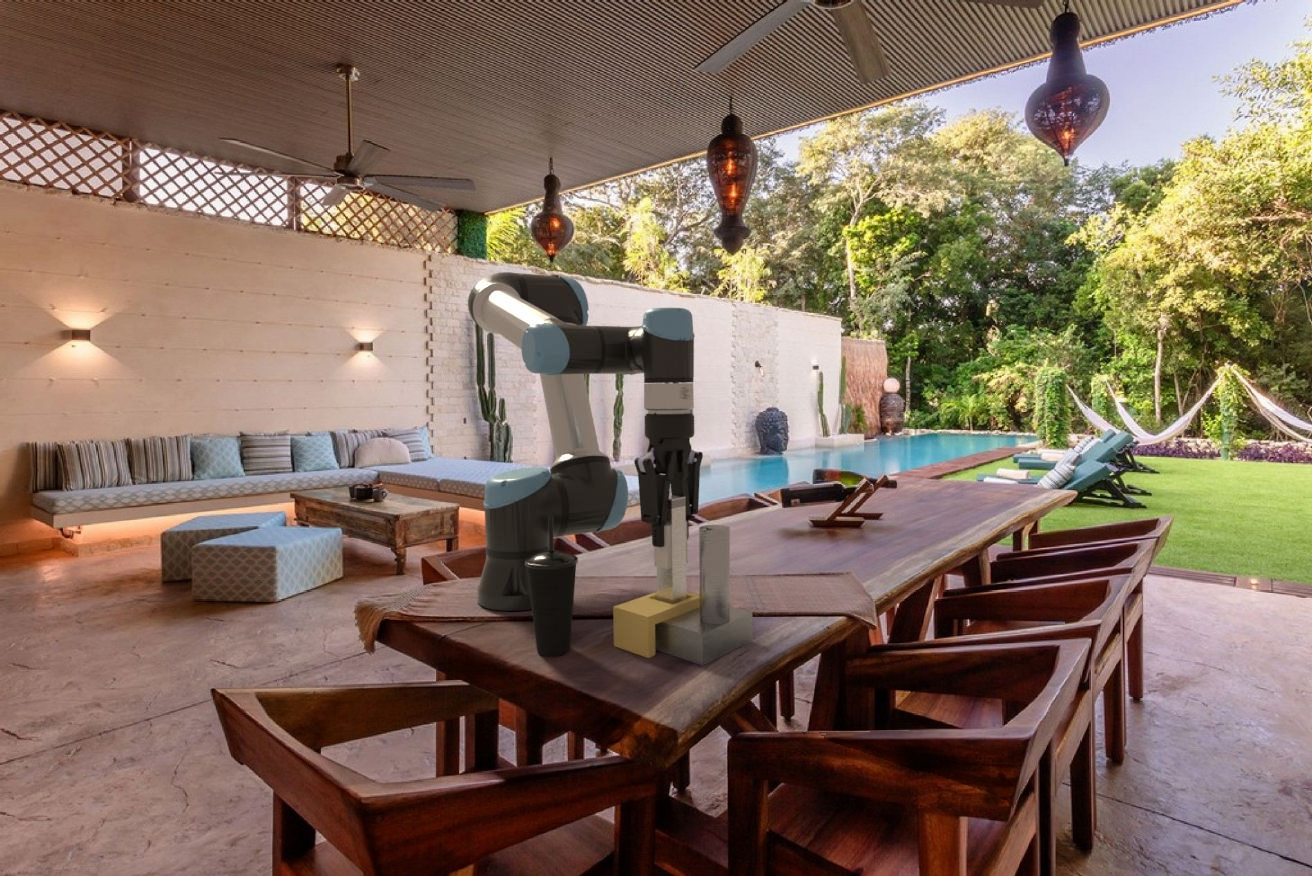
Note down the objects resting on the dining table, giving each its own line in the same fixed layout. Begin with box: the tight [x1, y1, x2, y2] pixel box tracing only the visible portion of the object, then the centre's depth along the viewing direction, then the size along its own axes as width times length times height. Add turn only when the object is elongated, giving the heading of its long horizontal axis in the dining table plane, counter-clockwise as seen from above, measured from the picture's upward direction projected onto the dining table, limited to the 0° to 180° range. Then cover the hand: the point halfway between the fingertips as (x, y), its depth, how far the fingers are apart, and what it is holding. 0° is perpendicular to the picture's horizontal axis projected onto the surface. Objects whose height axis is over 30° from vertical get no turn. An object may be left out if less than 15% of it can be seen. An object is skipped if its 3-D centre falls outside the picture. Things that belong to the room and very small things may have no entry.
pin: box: [656, 494, 687, 604], centre depth 108 cm, size 3×3×16 cm
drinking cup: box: [525, 516, 579, 658], centre depth 103 cm, size 8×8×20 cm
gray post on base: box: [655, 524, 753, 666], centre depth 106 cm, size 15×12×18 cm
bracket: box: [612, 590, 700, 659], centre depth 107 cm, size 7×13×6 cm, turn 138°
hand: (671, 564), depth 108 cm, fingers closed on pin, 3 cm apart
